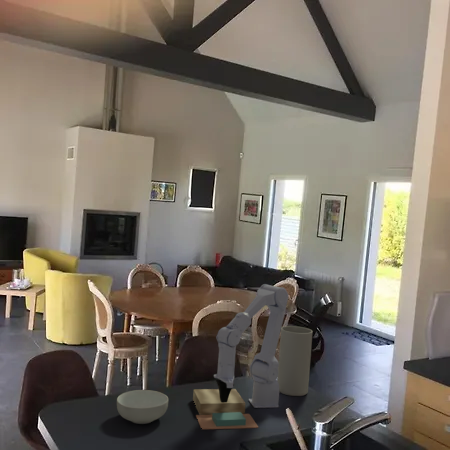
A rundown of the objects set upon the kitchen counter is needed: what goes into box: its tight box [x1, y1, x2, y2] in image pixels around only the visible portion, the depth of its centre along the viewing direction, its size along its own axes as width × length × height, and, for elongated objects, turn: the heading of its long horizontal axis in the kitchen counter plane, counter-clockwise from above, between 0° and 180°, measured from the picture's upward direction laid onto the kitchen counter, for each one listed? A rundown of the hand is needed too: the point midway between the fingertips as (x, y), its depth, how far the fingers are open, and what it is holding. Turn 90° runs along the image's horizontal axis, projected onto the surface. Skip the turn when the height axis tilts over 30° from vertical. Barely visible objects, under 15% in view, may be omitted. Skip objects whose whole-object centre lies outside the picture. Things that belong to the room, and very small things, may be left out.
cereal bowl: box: [116, 389, 169, 425], centre depth 173 cm, size 17×17×7 cm
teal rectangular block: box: [212, 412, 246, 426], centre depth 175 cm, size 10×6×2 cm, turn 105°
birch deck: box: [192, 388, 246, 415], centre depth 188 cm, size 16×14×4 cm
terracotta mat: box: [195, 413, 259, 430], centre depth 176 cm, size 19×11×1 cm, turn 103°
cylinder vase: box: [276, 325, 313, 397], centre depth 211 cm, size 12×12×25 cm
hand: (223, 401), depth 181 cm, fingers closed
